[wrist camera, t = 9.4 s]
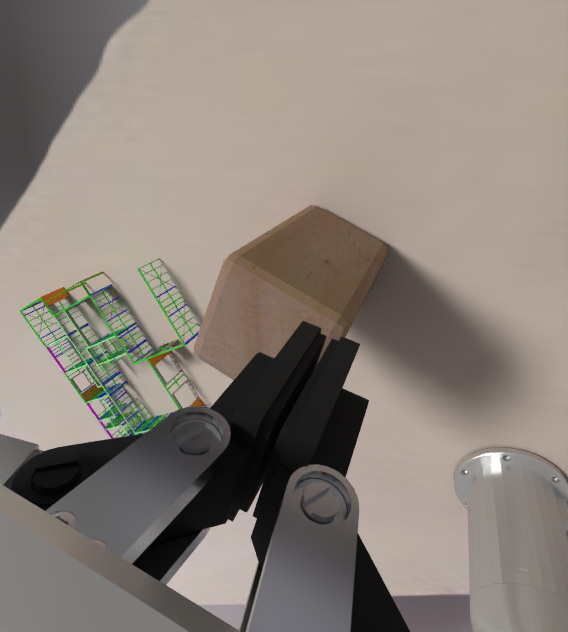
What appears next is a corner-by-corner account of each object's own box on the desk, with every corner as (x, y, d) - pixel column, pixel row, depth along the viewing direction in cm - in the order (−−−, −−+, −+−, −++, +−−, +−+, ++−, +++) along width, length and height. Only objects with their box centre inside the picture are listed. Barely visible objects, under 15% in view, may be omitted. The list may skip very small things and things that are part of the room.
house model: (42, 300, 69) (16, 312, 65) (148, 234, 54) (123, 244, 50) (148, 454, 77) (132, 472, 73) (266, 434, 62) (253, 455, 58)
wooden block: (393, 244, 41) (350, 329, 25) (349, 314, 47) (291, 422, 30) (312, 199, 43) (220, 252, 26) (279, 273, 48) (185, 355, 32)
